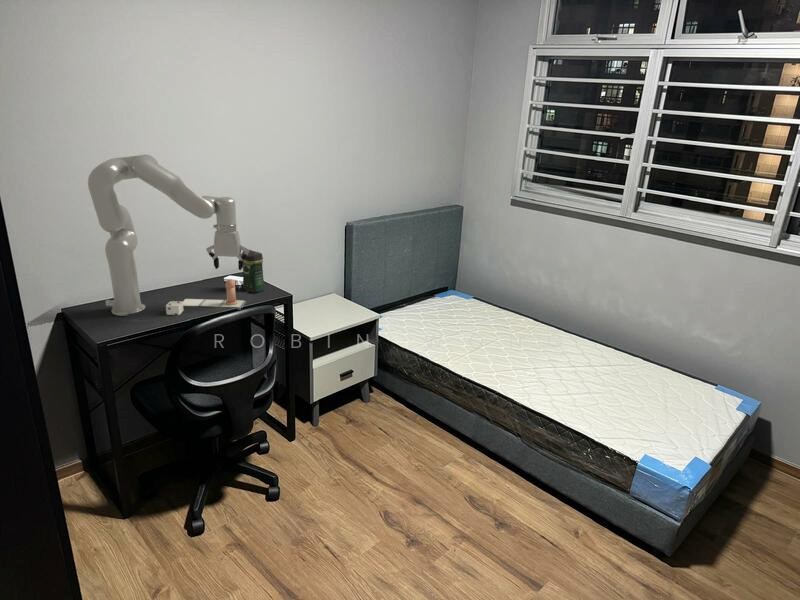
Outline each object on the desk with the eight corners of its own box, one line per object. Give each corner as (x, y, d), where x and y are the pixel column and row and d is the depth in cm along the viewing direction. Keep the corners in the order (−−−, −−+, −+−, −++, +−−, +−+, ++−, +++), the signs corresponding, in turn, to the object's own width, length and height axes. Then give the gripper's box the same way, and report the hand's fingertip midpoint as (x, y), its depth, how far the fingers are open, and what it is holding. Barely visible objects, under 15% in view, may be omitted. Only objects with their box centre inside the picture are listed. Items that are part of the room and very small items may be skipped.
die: (166, 317, 224) (165, 304, 222) (171, 312, 229) (170, 300, 227) (179, 317, 224) (178, 305, 222) (183, 312, 229) (182, 300, 227)
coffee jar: (267, 290, 258) (265, 251, 252) (253, 294, 252) (251, 254, 246) (254, 285, 264) (252, 247, 258) (240, 289, 258) (237, 250, 252)
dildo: (224, 305, 236) (222, 281, 232) (227, 301, 240) (225, 277, 237) (235, 305, 236) (234, 281, 232) (238, 301, 240) (237, 278, 237)
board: (177, 308, 234) (177, 305, 233) (184, 300, 242) (184, 298, 242) (240, 309, 234) (240, 307, 234) (246, 302, 243) (245, 300, 242)
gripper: (202, 229, 223) (205, 270, 229) (245, 231, 224) (247, 272, 229) (208, 225, 230) (210, 265, 236) (250, 227, 231) (251, 267, 236)
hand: (228, 268), depth 233 cm, fingers open, 9 cm apart
